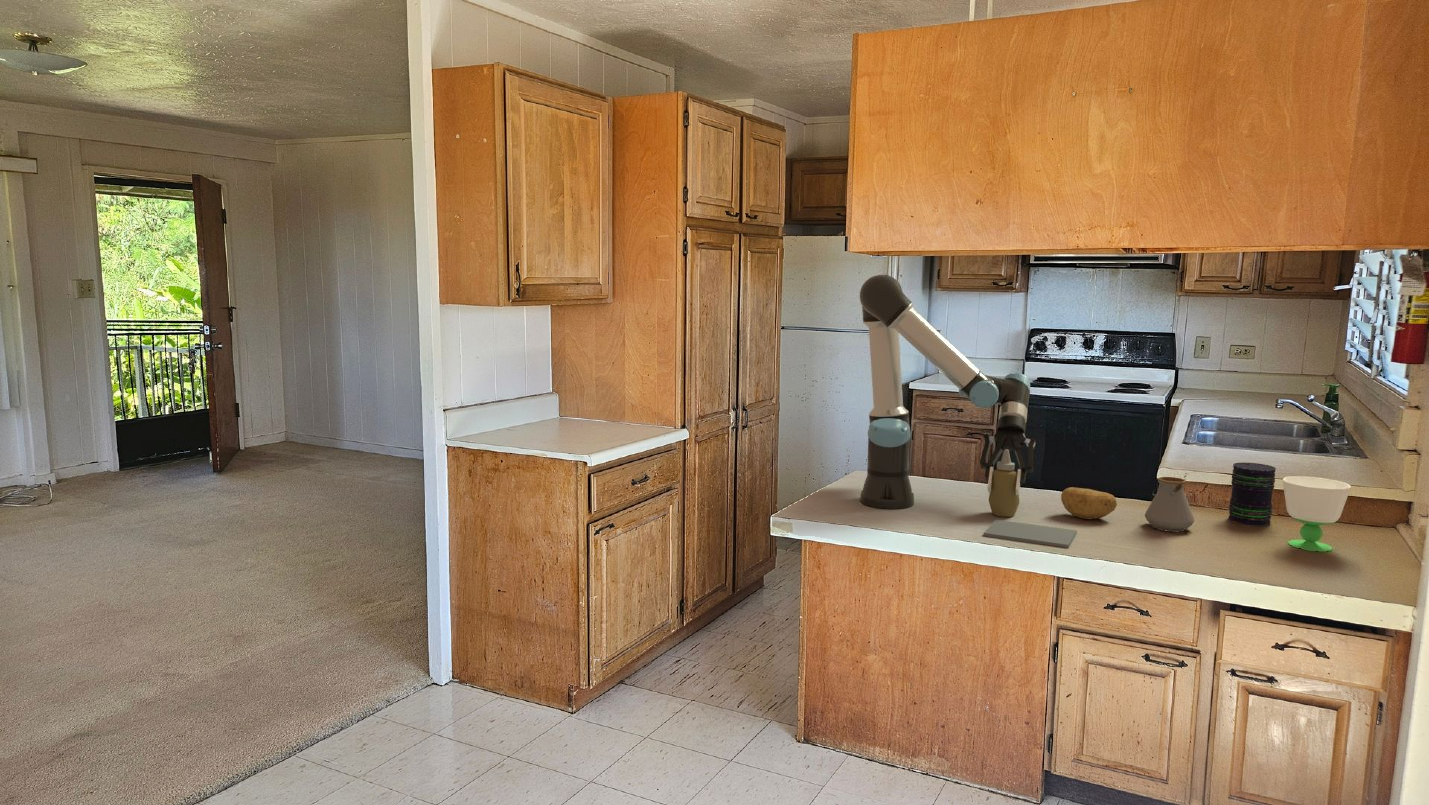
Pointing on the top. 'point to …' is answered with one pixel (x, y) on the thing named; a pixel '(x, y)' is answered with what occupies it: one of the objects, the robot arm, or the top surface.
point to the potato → (1088, 502)
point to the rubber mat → (1031, 533)
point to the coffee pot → (1170, 506)
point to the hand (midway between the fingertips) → (1003, 490)
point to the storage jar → (1252, 494)
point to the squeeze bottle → (1004, 488)
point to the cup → (1314, 507)
